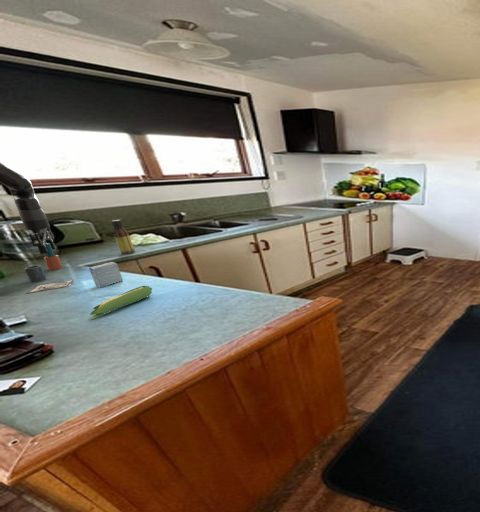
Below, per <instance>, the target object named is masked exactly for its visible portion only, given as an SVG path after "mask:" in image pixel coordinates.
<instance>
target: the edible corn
mask: <svg viewBox="0 0 480 512" xmlns="http://www.w3.org/2000/svg"><path fill="white" fill-rule="evenodd" d="M152 290H153V288H152V287H150V286H149V285H141V286H138V287H136V288H133V289H130V290H128V291H126V292H123V293H120V294H119V295H117V296H115V297H111V298H110V299H107V300H105V301H103V302H101V303H99V304H98V305H96V306H94V307H93V308H92V311H90V313H89V316H91V317H89V318H88V320H89V321H90V320H92V319H96V318H98V317H102V316H103V315H102V314H104V313H107V312H109V311H111V312H113V311H115V310H114V309H116V310H118V309H121V308H123V306H124V307H126V306H129V305H131V303H132V304H134V302H135V303H137V302H140V301H142V300H141V299H143V298H145V297H147V296H149V295H150V294H151V295H152V292H153V291H152ZM151 295H150V296H151ZM150 296H149V297H150ZM147 298H148V297H147ZM145 299H146V298H145ZM139 300H140V301H139ZM143 300H144V299H143ZM136 301H137V302H136ZM128 304H129V305H128ZM125 305H126V306H125ZM120 307H121V308H120ZM117 308H118V309H117ZM112 310H113V311H112ZM109 313H110V312H109ZM107 314H108V313H107ZM104 315H105V314H104Z"/></svg>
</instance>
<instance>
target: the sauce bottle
mask: <svg viewBox="0 0 480 512" xmlns="http://www.w3.org/2000/svg"><path fill="white" fill-rule="evenodd" d="M111 224H112V225H113V229H114V230H113V232H114V233H113V237H114V239H115V241H116V244H117V246H118V249H119V252H120V253H121V254H122V255H128V254H127V253H129V254H132V253H134V252H135V251H136V250H135V248H134V244H133V242H132V239H131V237H130V234H129V232H128V230H127V229H126V228H124V226H123V223H122V219H113V220H111Z"/></svg>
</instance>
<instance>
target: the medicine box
mask: <svg viewBox="0 0 480 512" xmlns="http://www.w3.org/2000/svg"><path fill="white" fill-rule="evenodd" d="M88 270H89V272H90V275H91V277H92V280H93V282H94V285H95V286H96V287H98V288H100V287H101V288H104V287H107V286H110V284H111V285H113V283H114V284H117V283H120V282H123V281H122V280H124V279H123V277H122V274H121V271H120V269H119V265H118V263H116V262H113V261H110V262H105V263H102V264H98V265H94V266H91V267H88ZM119 281H120V282H119ZM116 282H117V283H116Z"/></svg>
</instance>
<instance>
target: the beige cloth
mask: <svg viewBox="0 0 480 512" xmlns="http://www.w3.org/2000/svg"><path fill="white" fill-rule="evenodd" d="M74 282H76V279H70V280H64V281H58V282H51V283H45V284H39V285H35V286H33V288H31V289H30V290H28V291H27V292H25V295H27V294H34V293H39V292H46V291H52V290H57V289H64V288H69V287H70V285H72V284H73V283H74Z"/></svg>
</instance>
